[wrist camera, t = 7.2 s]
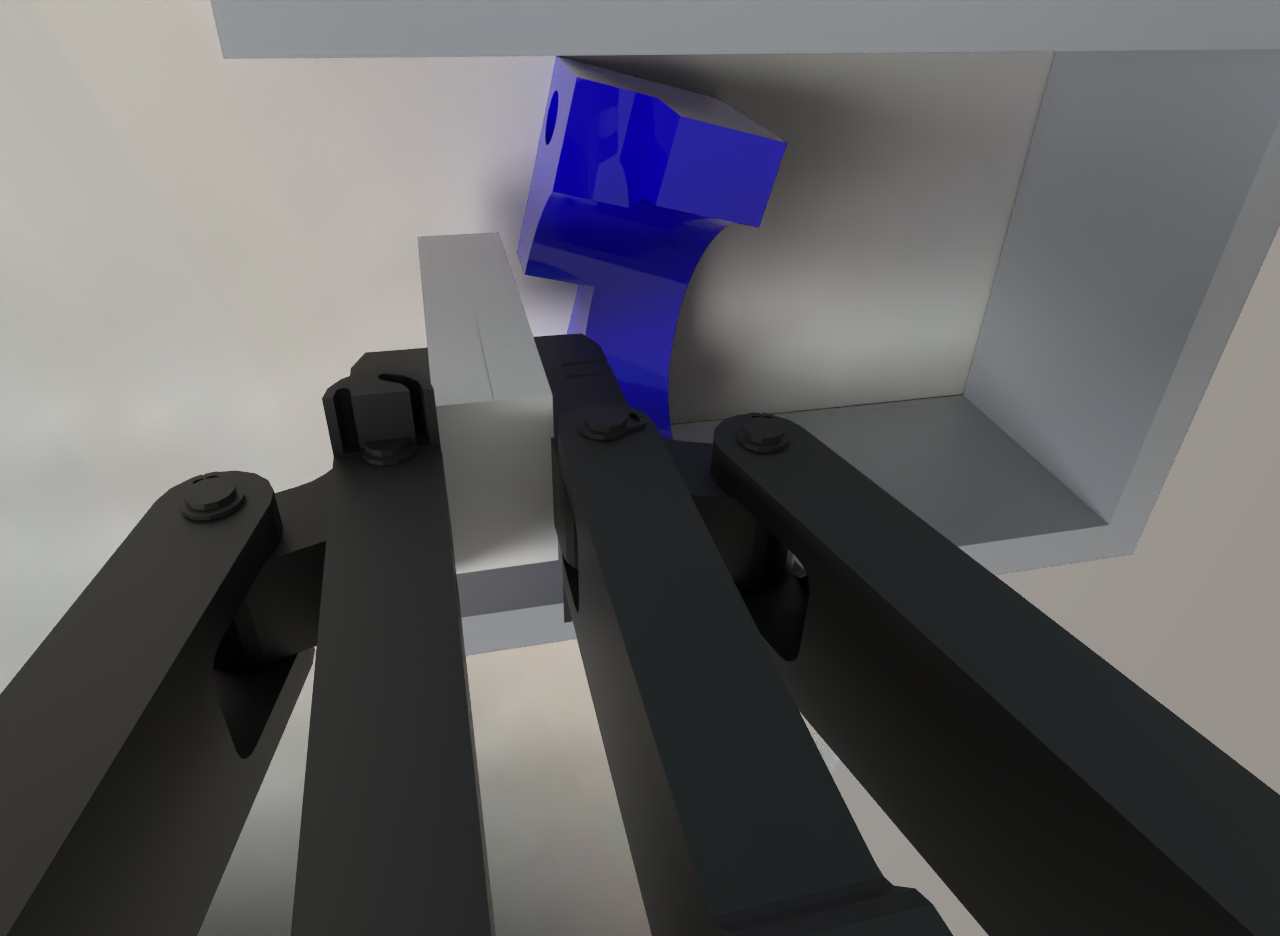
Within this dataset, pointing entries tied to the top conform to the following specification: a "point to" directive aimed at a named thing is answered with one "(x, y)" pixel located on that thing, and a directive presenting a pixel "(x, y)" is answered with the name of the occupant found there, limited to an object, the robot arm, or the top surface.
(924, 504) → the grey open box
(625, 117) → the cable holder
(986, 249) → the top surface
